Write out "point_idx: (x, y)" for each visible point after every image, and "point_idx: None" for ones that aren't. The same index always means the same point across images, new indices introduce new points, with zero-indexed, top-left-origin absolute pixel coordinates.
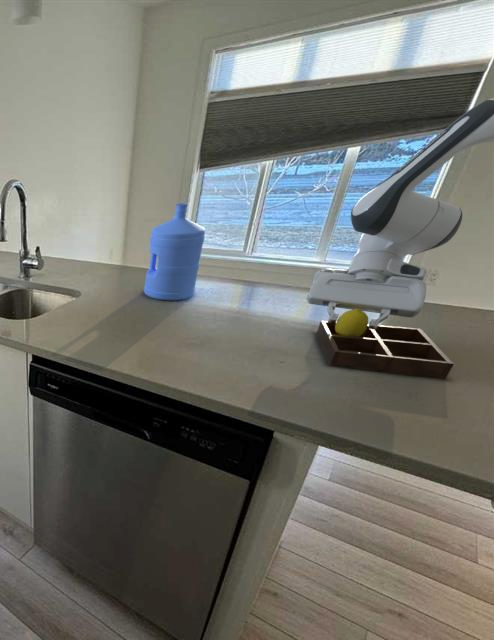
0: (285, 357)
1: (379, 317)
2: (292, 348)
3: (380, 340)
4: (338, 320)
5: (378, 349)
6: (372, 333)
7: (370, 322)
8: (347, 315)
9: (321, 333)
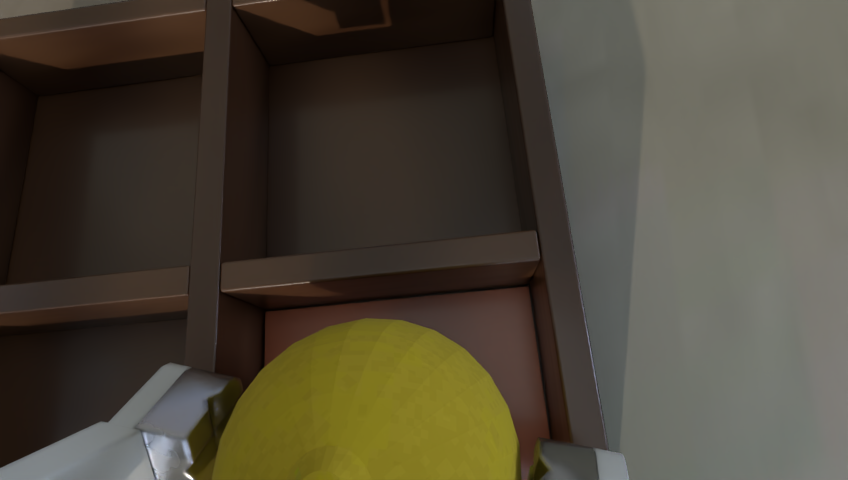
0: (752, 37)
1: (93, 451)
2: (739, 196)
3: (201, 262)
4: (517, 448)
5: (242, 190)
6: None
7: (209, 419)
8: (451, 398)
9: None
